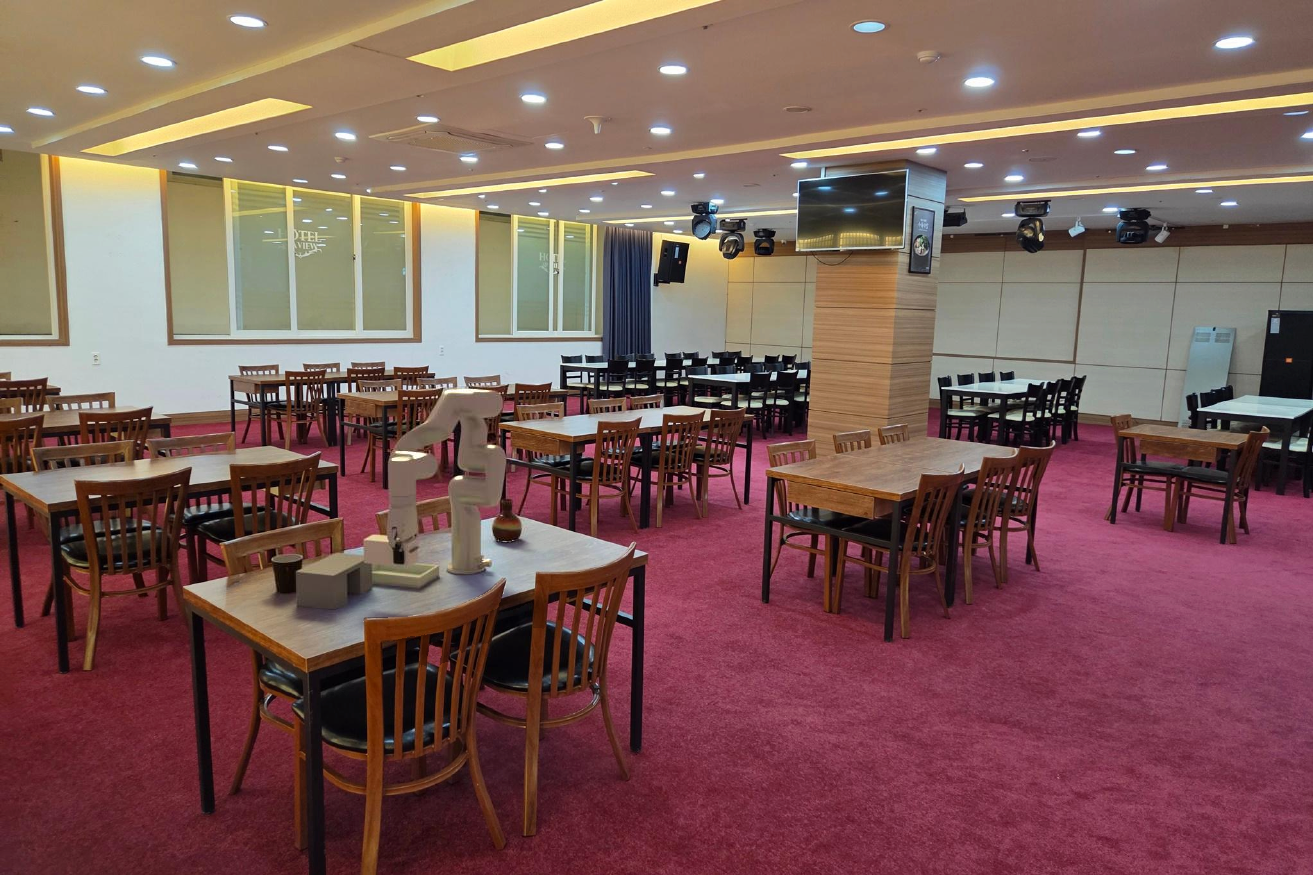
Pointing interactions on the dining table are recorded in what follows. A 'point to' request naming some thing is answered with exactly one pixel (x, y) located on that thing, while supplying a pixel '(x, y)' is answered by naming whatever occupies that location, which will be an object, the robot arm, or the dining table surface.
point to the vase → (507, 523)
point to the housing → (332, 580)
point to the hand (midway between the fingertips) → (404, 559)
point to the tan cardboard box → (389, 551)
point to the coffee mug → (286, 572)
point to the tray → (404, 575)
